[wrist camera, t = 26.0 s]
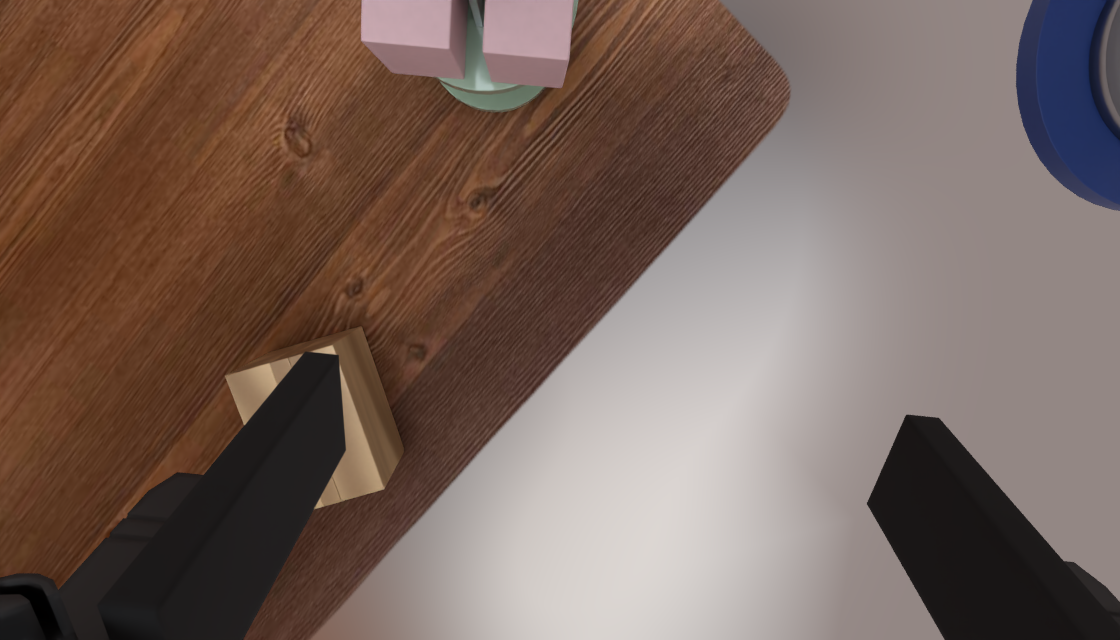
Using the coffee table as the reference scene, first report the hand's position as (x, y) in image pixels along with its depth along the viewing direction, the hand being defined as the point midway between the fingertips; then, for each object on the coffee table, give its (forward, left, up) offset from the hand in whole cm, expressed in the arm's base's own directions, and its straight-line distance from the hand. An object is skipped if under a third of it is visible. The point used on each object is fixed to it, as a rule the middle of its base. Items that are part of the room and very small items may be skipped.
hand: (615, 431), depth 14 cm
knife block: (+16, +10, -30) cm, 36 cm away
